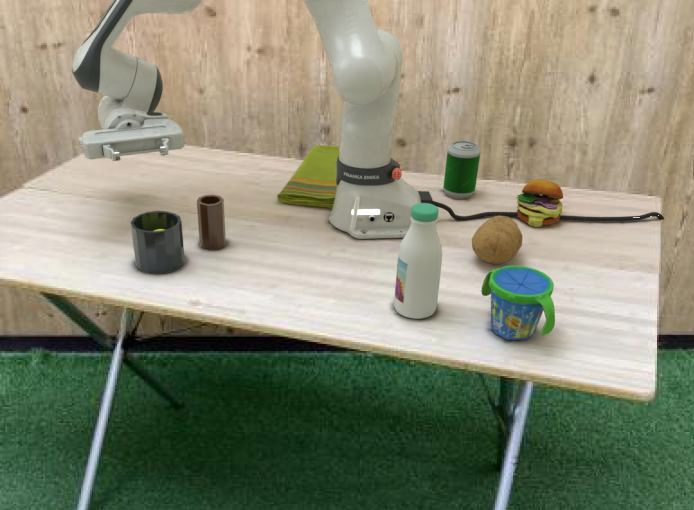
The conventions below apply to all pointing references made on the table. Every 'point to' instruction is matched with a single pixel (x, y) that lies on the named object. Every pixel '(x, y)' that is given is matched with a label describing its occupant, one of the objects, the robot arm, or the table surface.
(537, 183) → the cheeseburger
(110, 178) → the table surface
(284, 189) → the dish towel
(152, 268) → the dark grey round container
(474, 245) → the potato
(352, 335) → the table surface
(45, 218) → the table surface
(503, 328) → the snack cup
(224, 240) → the ball stand
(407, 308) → the milk bottle
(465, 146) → the soda can
